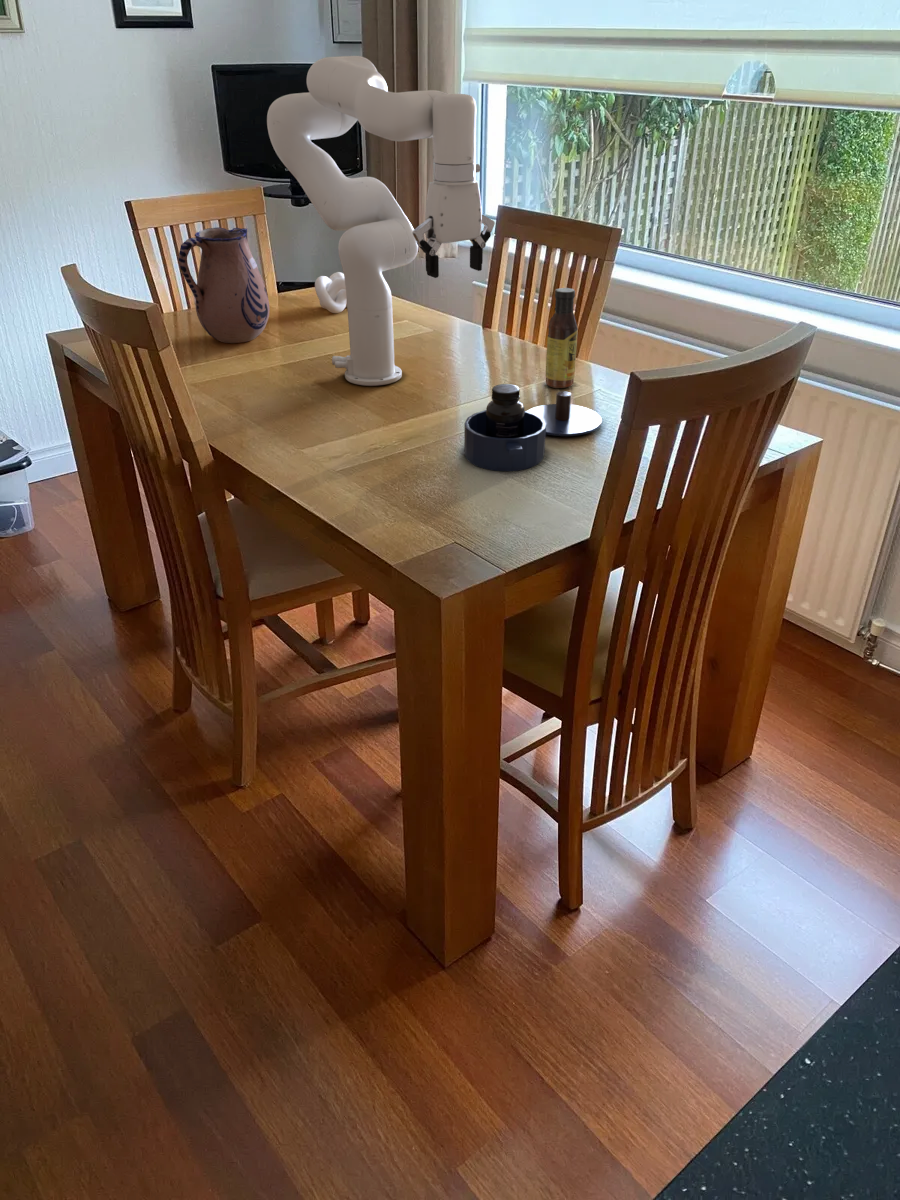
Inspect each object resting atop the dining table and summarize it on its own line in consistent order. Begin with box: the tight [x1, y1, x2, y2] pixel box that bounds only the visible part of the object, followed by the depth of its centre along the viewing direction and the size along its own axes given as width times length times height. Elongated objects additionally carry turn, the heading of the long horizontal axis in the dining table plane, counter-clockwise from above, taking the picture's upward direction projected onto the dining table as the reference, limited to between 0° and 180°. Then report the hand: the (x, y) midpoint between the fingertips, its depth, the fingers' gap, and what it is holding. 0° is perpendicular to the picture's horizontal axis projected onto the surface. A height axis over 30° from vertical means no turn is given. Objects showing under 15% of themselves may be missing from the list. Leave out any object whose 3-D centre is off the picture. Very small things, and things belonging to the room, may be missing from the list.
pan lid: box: [527, 390, 603, 437], centre depth 173 cm, size 15×15×6 cm
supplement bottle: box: [485, 383, 525, 438], centre depth 160 cm, size 7×7×12 cm
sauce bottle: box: [545, 287, 579, 389], centre depth 188 cm, size 7×6×20 cm
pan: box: [463, 409, 547, 472], centre depth 161 cm, size 14×20×6 cm
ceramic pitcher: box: [178, 226, 271, 344], centre depth 214 cm, size 18×21×25 cm
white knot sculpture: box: [314, 271, 347, 314], centre depth 240 cm, size 11×12×9 cm
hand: (454, 272), depth 169 cm, fingers open, 9 cm apart
